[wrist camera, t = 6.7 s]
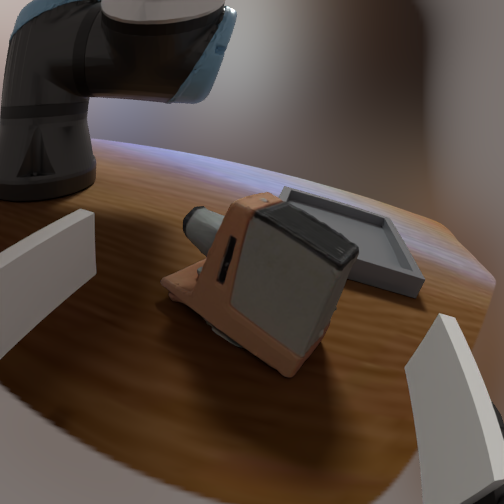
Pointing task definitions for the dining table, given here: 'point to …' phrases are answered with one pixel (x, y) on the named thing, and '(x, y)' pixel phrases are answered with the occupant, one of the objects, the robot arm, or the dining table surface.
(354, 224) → the dock tray
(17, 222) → the dining table surface
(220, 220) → the electronic device
